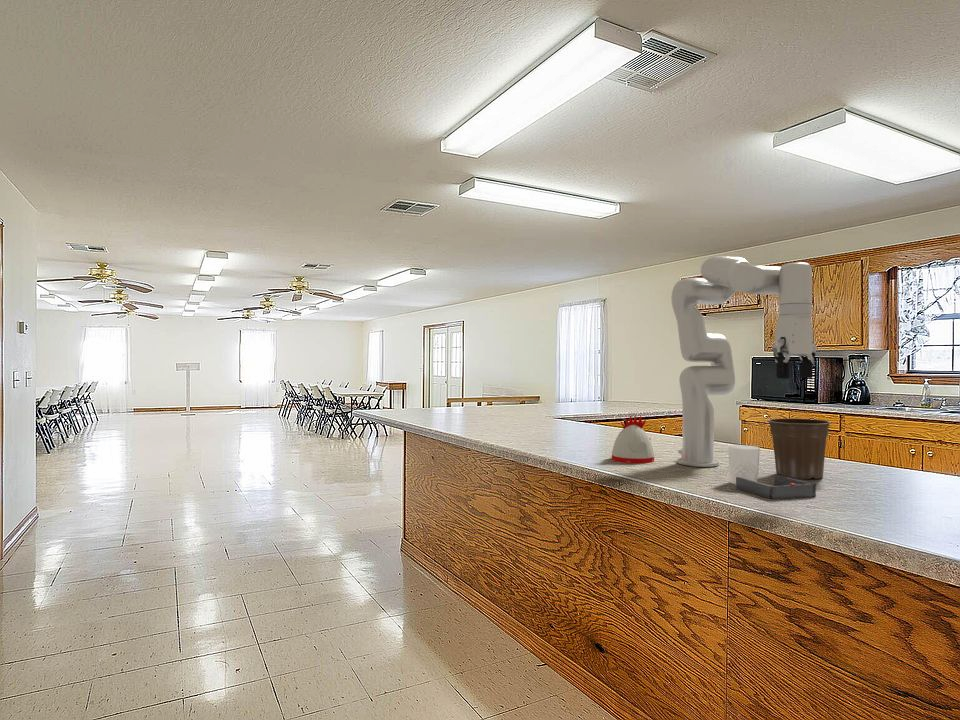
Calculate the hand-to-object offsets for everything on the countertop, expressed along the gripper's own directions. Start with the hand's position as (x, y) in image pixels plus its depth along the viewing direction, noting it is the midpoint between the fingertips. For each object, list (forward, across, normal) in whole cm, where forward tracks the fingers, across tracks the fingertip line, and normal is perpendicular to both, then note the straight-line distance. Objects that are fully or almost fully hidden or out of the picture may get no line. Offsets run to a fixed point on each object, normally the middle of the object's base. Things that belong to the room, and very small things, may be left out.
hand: (794, 378), depth 160 cm
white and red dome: (+30, +1, -56) cm, 64 cm away
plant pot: (+29, -21, -12) cm, 38 cm away
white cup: (+29, +3, -13) cm, 32 cm away
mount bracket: (+29, +6, -1) cm, 30 cm away
